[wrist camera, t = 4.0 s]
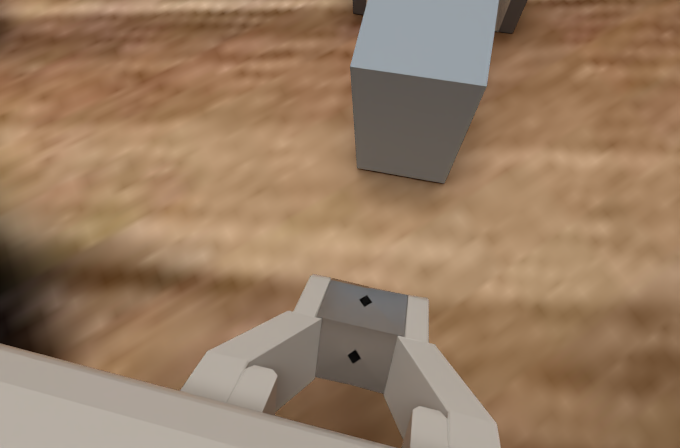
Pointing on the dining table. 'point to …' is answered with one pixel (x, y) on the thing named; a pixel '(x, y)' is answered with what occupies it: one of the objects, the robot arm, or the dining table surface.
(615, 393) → the dining table surface
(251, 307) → the dining table surface
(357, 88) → the grey rectangular box
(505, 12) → the frame
